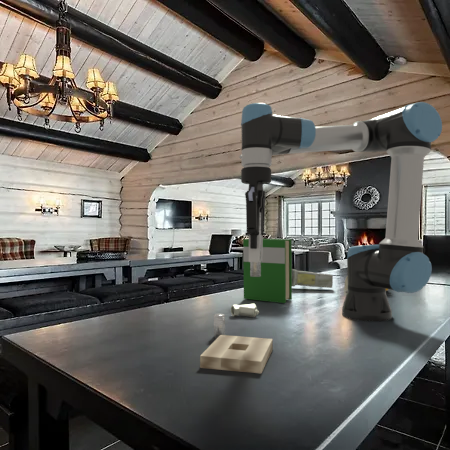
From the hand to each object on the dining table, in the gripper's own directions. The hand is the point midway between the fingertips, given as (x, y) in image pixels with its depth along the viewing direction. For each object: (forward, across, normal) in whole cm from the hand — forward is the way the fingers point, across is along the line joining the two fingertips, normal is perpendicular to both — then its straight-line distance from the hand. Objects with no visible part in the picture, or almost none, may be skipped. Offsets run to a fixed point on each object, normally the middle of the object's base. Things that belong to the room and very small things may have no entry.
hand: (255, 261), depth 94 cm
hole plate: (+21, +11, -1) cm, 24 cm away
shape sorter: (+20, -86, +33) cm, 95 cm away
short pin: (+21, -4, -11) cm, 24 cm away
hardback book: (+21, -56, -7) cm, 61 cm away
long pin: (+4, 0, 0) cm, 4 cm away
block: (+21, -82, +8) cm, 85 cm away
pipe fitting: (+19, -25, -7) cm, 32 cm away
